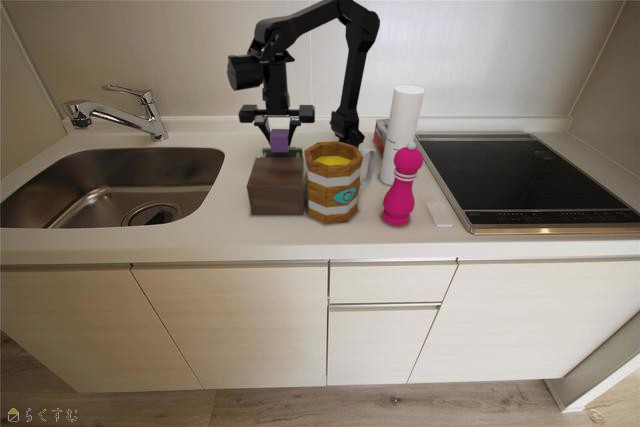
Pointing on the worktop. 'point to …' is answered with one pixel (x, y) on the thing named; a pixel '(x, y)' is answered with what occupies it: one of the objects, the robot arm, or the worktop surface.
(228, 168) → the worktop surface
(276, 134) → the block
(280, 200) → the cabinet
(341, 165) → the mug
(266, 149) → the drawer
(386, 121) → the medicine box
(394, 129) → the cylindrical container
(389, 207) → the pepper mill
